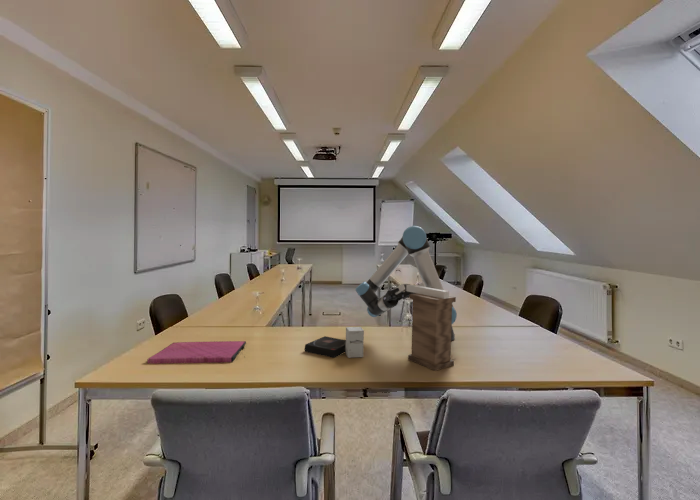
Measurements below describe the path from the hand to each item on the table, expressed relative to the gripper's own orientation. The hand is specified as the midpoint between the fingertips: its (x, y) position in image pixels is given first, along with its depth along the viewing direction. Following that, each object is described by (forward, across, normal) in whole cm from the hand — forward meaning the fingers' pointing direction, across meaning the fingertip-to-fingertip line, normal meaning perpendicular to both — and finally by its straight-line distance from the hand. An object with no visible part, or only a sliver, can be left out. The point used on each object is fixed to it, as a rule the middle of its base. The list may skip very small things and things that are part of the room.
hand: (414, 285), depth 165 cm
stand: (-7, 0, -34) cm, 35 cm away
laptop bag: (-64, +82, -2) cm, 104 cm away
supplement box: (-29, +24, -22) cm, 43 cm away
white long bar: (+4, 0, -6) cm, 7 cm away
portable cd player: (-41, +30, -16) cm, 53 cm away
